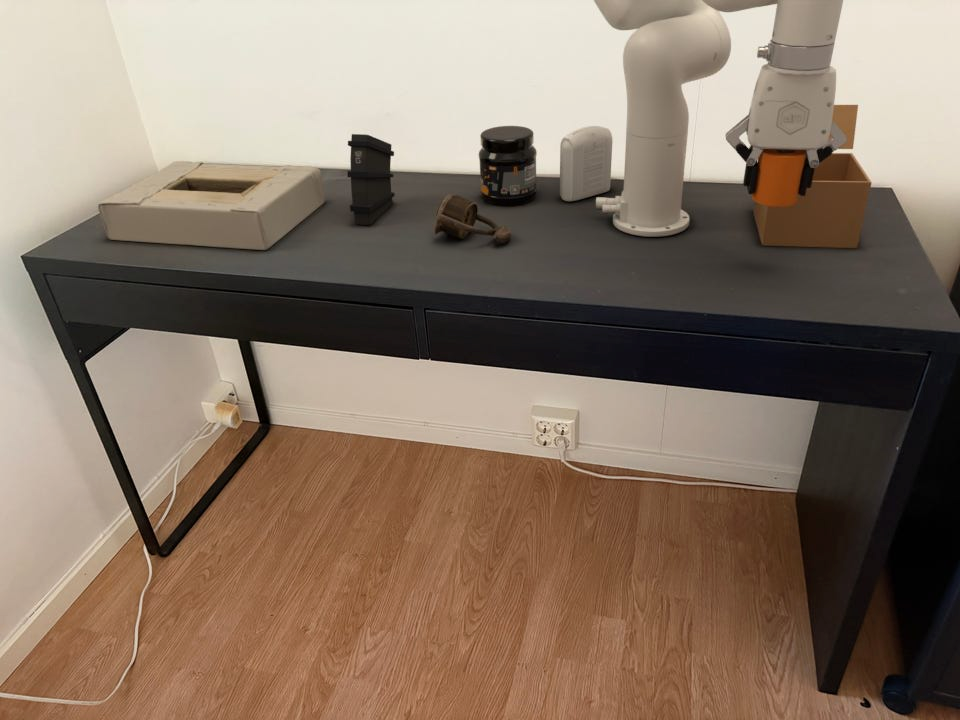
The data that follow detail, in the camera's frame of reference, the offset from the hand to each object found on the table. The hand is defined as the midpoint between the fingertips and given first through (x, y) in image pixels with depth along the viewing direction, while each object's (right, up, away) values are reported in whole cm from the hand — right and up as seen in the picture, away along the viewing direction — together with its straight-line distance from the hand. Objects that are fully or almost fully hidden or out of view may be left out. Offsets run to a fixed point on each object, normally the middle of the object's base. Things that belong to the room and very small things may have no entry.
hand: (775, 190), depth 108 cm
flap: (+12, +14, +16) cm, 24 cm away
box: (-89, +2, +34) cm, 95 cm away
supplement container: (-36, +7, +36) cm, 52 cm away
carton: (+11, -3, +17) cm, 20 cm away
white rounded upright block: (-22, +7, +35) cm, 42 cm away
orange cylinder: (0, -1, +1) cm, 1 cm away
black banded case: (-60, +3, +33) cm, 69 cm away
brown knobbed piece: (-43, -4, +20) cm, 48 cm away
